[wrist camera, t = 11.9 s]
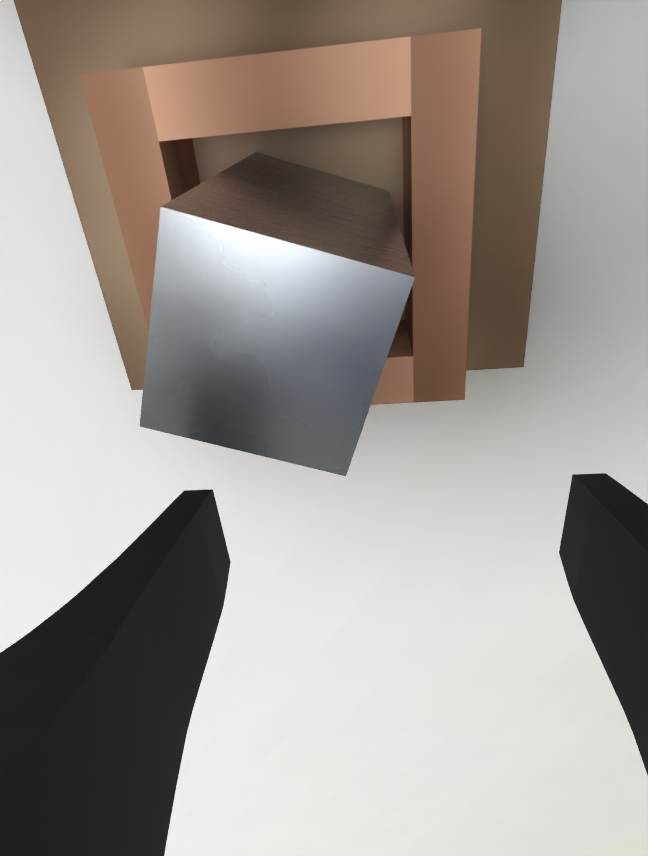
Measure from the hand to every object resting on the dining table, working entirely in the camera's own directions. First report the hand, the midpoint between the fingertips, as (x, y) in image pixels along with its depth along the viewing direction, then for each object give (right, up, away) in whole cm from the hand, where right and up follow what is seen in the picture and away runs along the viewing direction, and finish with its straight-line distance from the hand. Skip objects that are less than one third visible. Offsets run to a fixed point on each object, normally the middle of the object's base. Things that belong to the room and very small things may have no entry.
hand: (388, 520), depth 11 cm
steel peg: (-2, +8, +6) cm, 10 cm away
